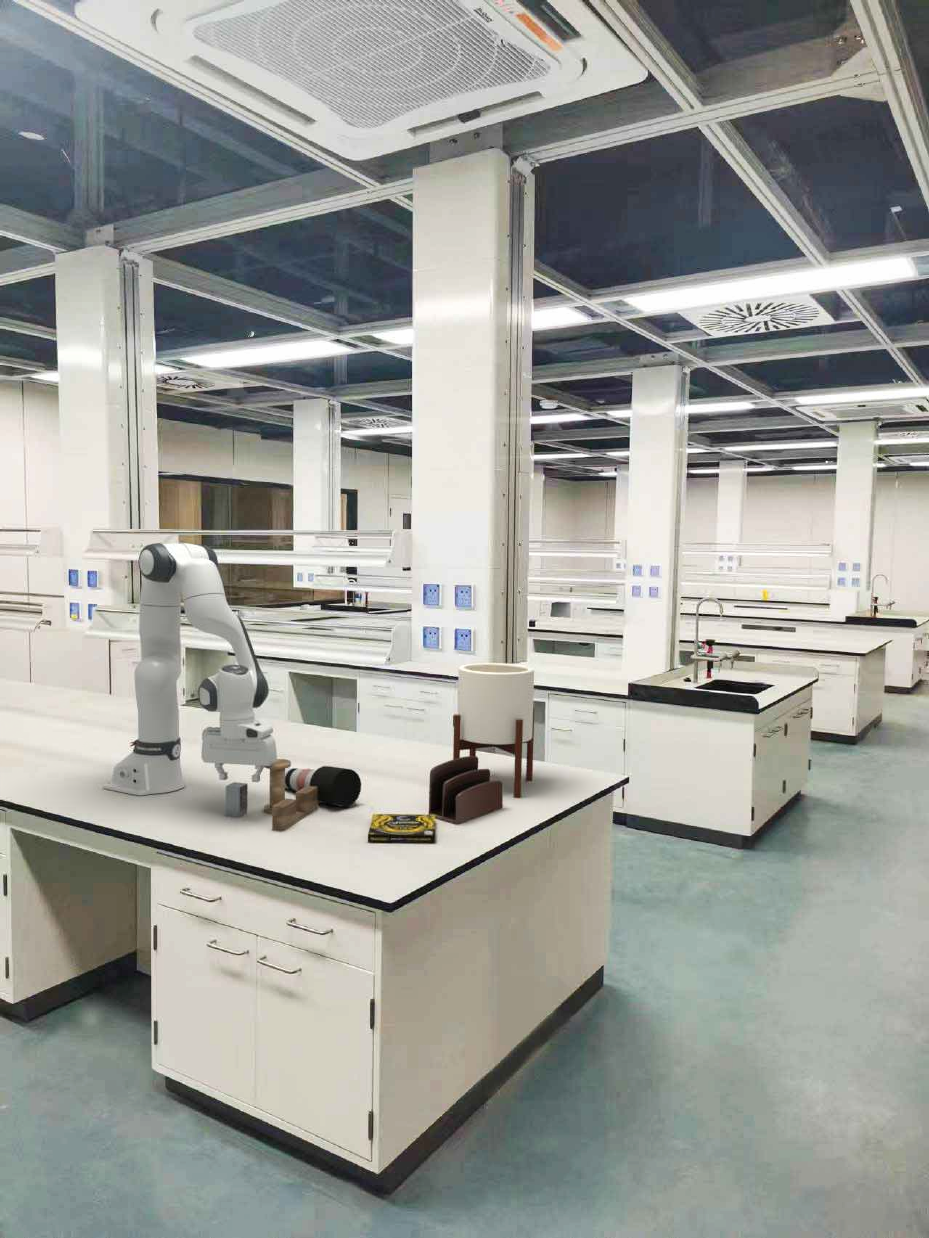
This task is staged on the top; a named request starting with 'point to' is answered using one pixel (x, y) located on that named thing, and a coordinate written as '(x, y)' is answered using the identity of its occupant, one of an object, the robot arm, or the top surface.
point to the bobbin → (277, 783)
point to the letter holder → (463, 791)
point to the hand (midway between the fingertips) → (239, 780)
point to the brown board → (294, 808)
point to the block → (236, 799)
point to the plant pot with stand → (496, 712)
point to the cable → (326, 783)
